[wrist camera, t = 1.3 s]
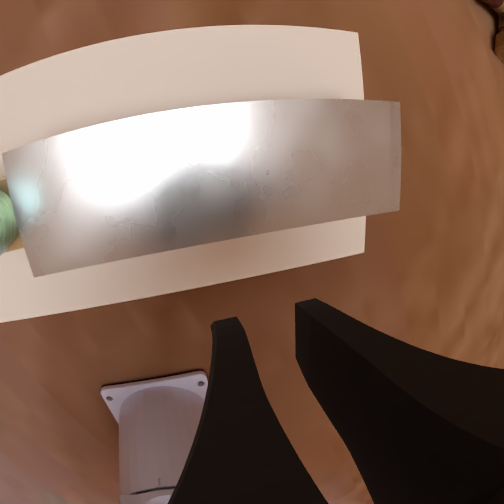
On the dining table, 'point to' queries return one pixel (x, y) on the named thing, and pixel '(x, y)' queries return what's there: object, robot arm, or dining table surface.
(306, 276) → the dining table surface
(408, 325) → the dining table surface
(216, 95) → the base board
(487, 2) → the olive brown lump
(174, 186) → the steel sleeve
